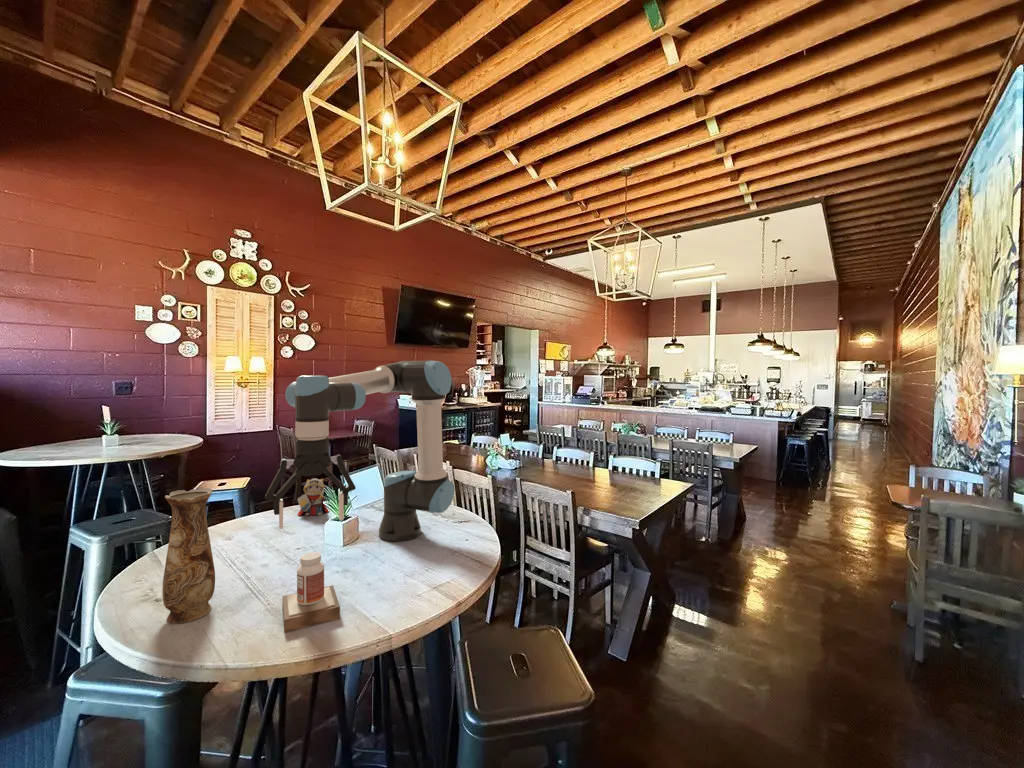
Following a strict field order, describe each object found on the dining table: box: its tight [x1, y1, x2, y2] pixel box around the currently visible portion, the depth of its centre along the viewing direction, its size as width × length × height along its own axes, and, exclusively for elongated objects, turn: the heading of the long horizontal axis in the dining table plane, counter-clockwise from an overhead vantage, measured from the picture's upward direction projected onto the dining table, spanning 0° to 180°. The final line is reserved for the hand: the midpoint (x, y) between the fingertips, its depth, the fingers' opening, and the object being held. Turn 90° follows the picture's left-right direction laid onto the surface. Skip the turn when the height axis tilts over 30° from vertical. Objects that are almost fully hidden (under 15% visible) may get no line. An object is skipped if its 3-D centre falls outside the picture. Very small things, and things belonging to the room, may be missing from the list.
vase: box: [161, 487, 216, 624], centre depth 106 cm, size 10×11×30 cm
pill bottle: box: [296, 551, 325, 605], centre depth 108 cm, size 6×6×11 cm
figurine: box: [297, 478, 330, 517], centre depth 181 cm, size 13×11×15 cm
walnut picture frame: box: [281, 585, 341, 634], centre depth 108 cm, size 12×12×3 cm
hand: (312, 522), depth 107 cm, fingers open, 13 cm apart
